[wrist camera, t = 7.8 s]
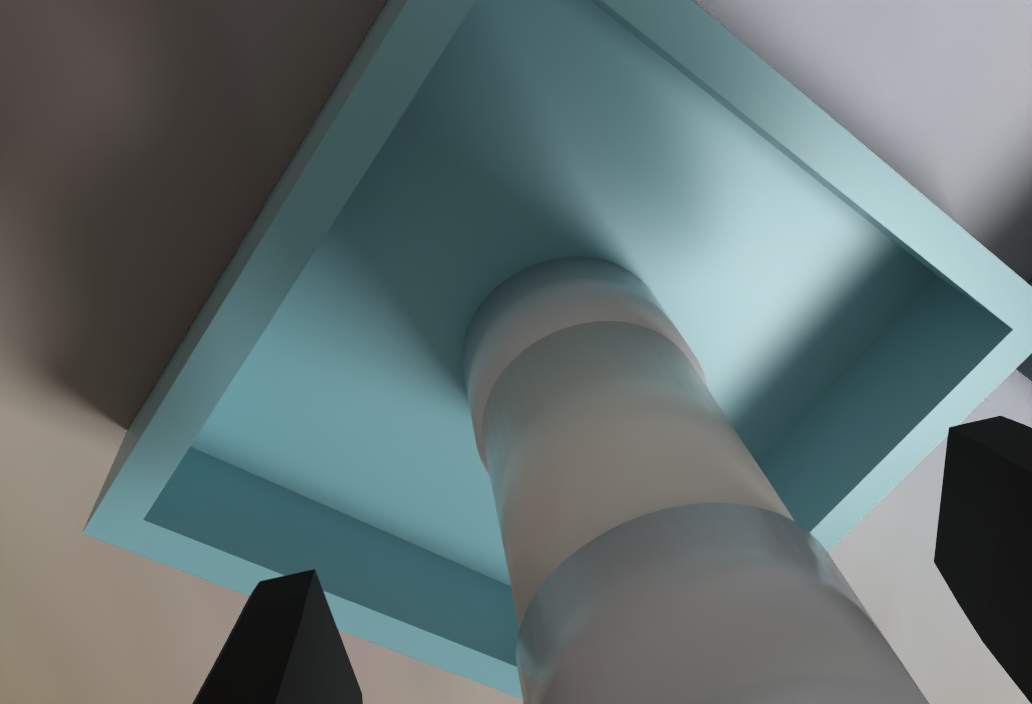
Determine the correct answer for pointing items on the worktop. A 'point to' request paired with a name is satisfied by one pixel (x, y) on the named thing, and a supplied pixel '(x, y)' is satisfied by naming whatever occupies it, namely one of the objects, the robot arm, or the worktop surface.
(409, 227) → the parts tray
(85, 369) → the worktop surface
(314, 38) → the worktop surface
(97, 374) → the worktop surface
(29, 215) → the worktop surface
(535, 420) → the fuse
